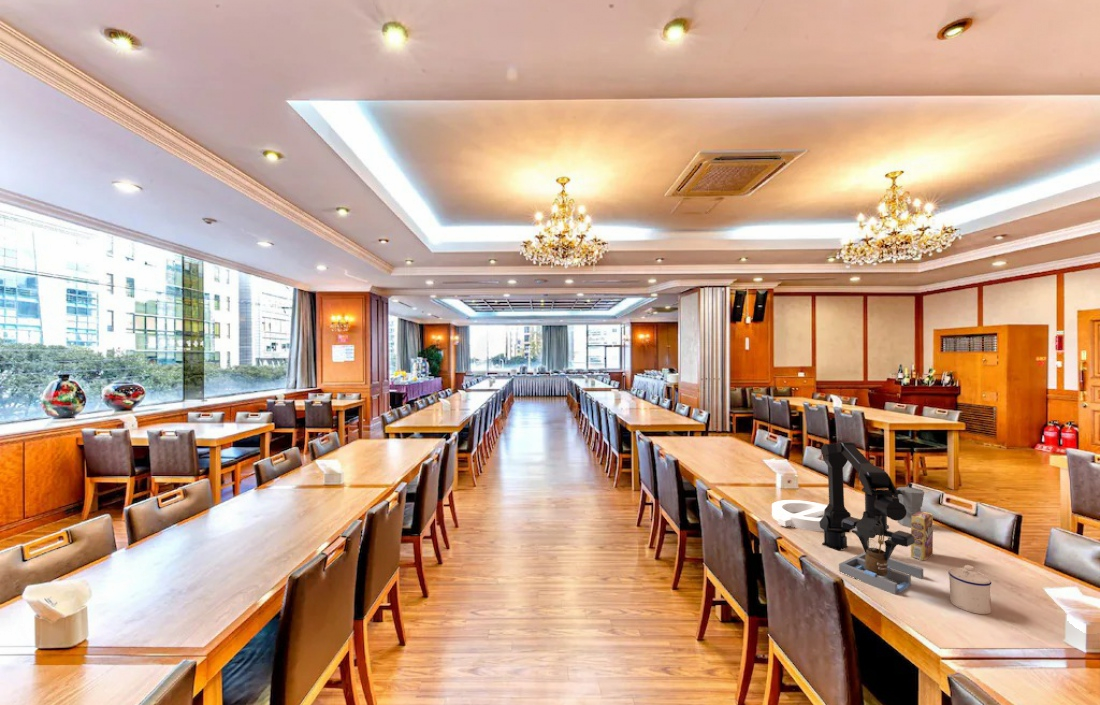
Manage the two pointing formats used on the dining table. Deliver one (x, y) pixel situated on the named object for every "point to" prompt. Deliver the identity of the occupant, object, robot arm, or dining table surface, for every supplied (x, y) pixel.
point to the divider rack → (857, 566)
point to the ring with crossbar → (799, 514)
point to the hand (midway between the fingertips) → (876, 556)
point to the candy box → (922, 535)
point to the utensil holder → (876, 559)
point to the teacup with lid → (970, 590)
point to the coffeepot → (910, 502)
